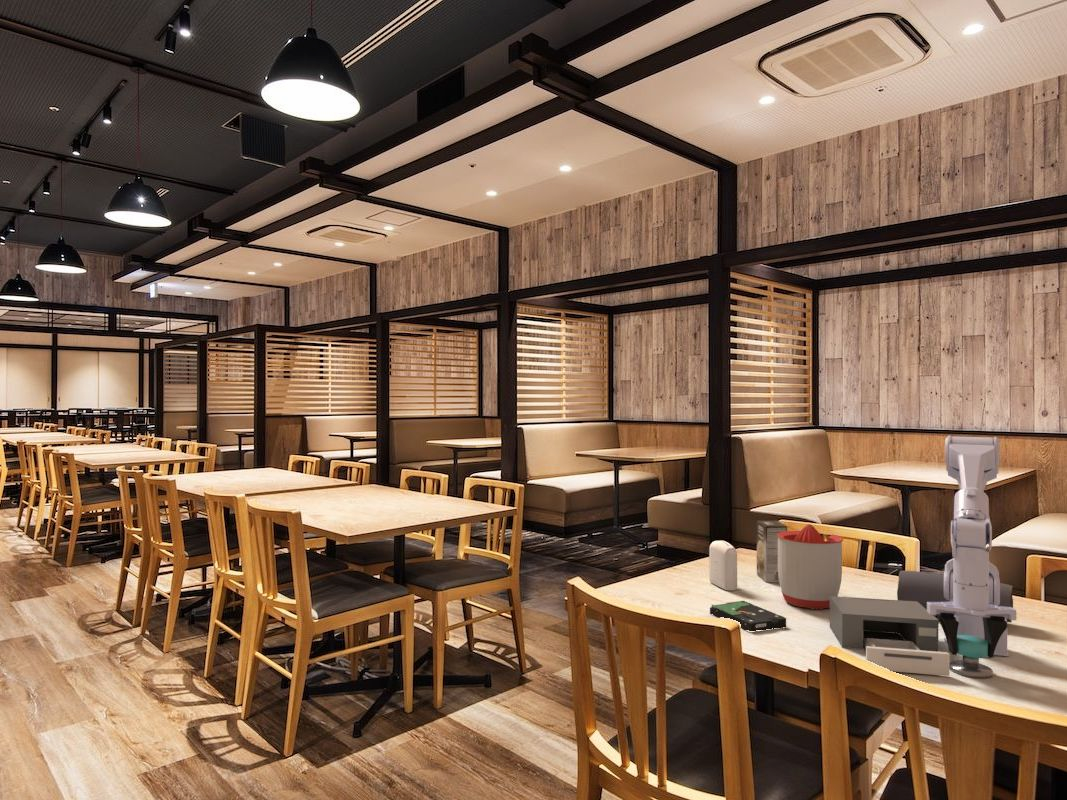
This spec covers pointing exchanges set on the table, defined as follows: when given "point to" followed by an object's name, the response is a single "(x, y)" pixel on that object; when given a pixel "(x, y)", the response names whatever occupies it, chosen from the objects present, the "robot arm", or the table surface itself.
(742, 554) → the table surface
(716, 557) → the photo printer
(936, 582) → the bluetooth speaker
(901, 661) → the drawer
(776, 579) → the coffee box
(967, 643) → the teal rounded disc
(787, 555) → the citrus juicer
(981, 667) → the spindle stand
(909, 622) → the player cabinet
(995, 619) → the robot arm
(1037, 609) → the table surface
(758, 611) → the disk drive
